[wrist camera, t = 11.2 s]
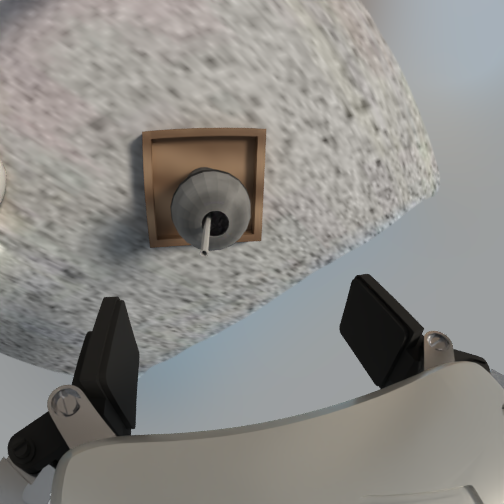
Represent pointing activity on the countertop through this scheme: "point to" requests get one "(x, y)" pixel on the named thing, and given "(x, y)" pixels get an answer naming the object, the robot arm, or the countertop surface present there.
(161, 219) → the walnut tray
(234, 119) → the countertop surface
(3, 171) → the lidded jar
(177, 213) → the beverage cup
